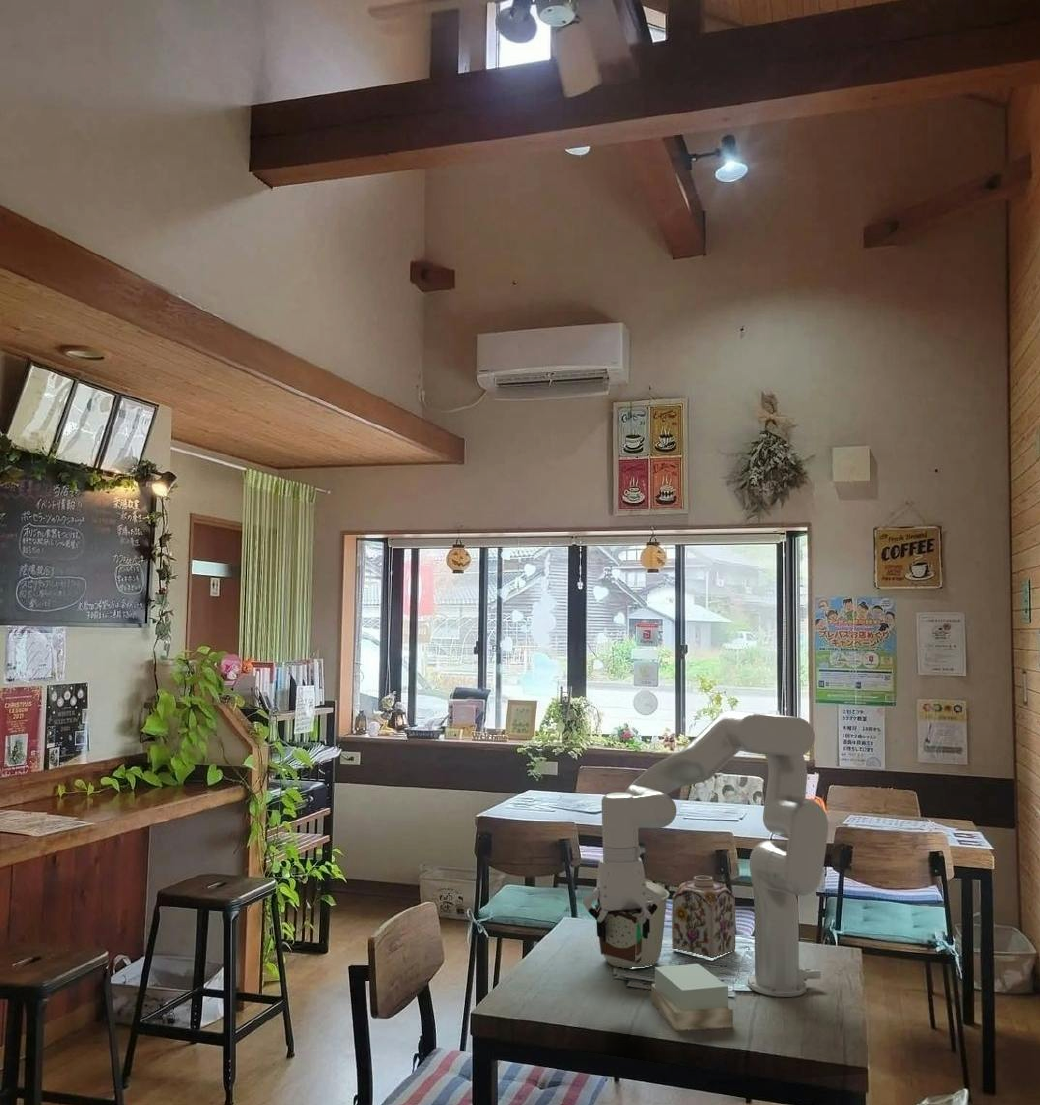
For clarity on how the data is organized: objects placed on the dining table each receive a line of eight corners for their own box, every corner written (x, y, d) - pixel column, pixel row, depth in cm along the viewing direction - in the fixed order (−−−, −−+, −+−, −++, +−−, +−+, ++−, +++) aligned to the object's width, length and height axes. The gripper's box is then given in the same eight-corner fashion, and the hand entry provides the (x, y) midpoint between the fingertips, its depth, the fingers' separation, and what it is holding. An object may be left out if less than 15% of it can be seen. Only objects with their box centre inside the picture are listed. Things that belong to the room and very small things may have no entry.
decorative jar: (712, 963, 234) (712, 885, 236) (670, 952, 242) (670, 877, 243) (737, 951, 243) (736, 876, 245) (696, 941, 251) (695, 869, 252)
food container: (660, 957, 203) (657, 908, 204) (641, 965, 199) (639, 915, 199) (613, 945, 212) (611, 897, 212) (595, 952, 207) (593, 904, 208)
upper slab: (698, 982, 211) (698, 963, 211) (728, 1006, 198) (728, 986, 198) (654, 986, 208) (654, 967, 209) (682, 1011, 195) (682, 990, 195)
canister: (579, 957, 237) (579, 868, 239) (640, 946, 246) (640, 860, 248) (621, 981, 221) (621, 885, 223) (685, 968, 230) (684, 876, 232)
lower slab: (704, 1000, 212) (704, 981, 212) (732, 1030, 196) (732, 1009, 196) (651, 1003, 210) (651, 984, 210) (675, 1033, 194) (675, 1012, 194)
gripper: (655, 847, 211) (658, 929, 210) (576, 852, 209) (579, 935, 208) (665, 855, 204) (668, 941, 203) (583, 860, 201) (586, 947, 200)
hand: (623, 938), depth 205 cm, fingers closed on food container, 8 cm apart
